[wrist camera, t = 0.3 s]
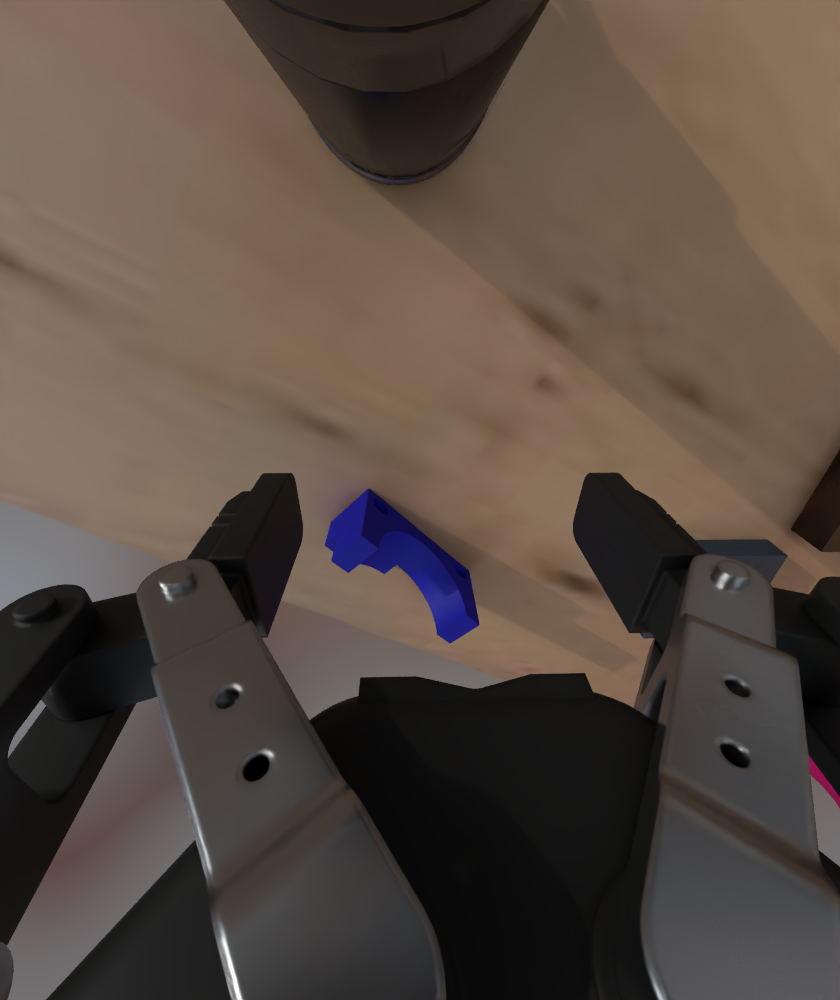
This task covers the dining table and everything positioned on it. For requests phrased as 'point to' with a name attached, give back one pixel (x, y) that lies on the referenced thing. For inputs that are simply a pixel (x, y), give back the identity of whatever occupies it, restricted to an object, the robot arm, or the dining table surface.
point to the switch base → (823, 513)
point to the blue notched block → (405, 560)
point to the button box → (746, 556)
